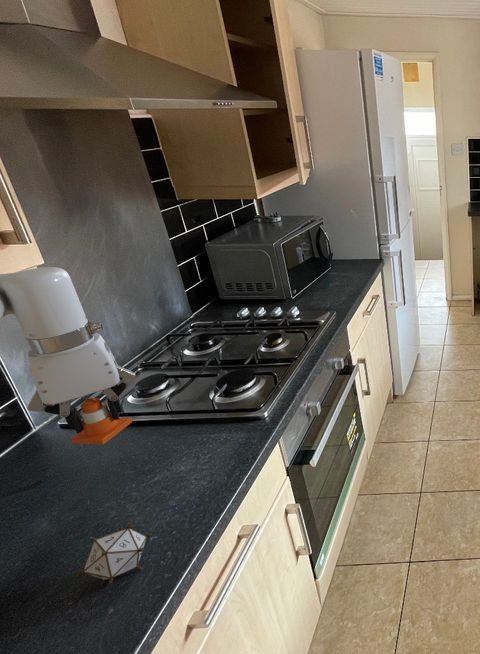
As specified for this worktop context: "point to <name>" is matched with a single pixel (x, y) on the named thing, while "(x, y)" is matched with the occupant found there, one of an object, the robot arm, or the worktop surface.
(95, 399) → the cone
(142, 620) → the worktop surface
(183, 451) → the worktop surface
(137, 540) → the game die
